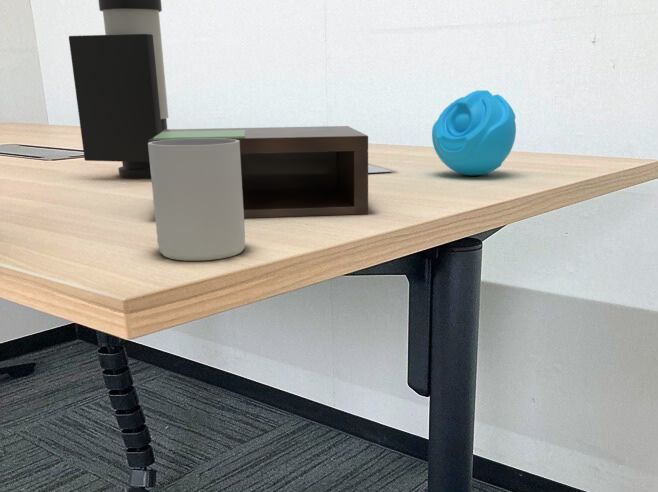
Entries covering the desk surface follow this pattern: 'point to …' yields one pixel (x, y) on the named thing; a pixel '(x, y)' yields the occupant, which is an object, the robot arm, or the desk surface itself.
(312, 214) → the shelf
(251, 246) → the desk surface
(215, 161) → the cup
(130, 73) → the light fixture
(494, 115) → the blue rounded piece
